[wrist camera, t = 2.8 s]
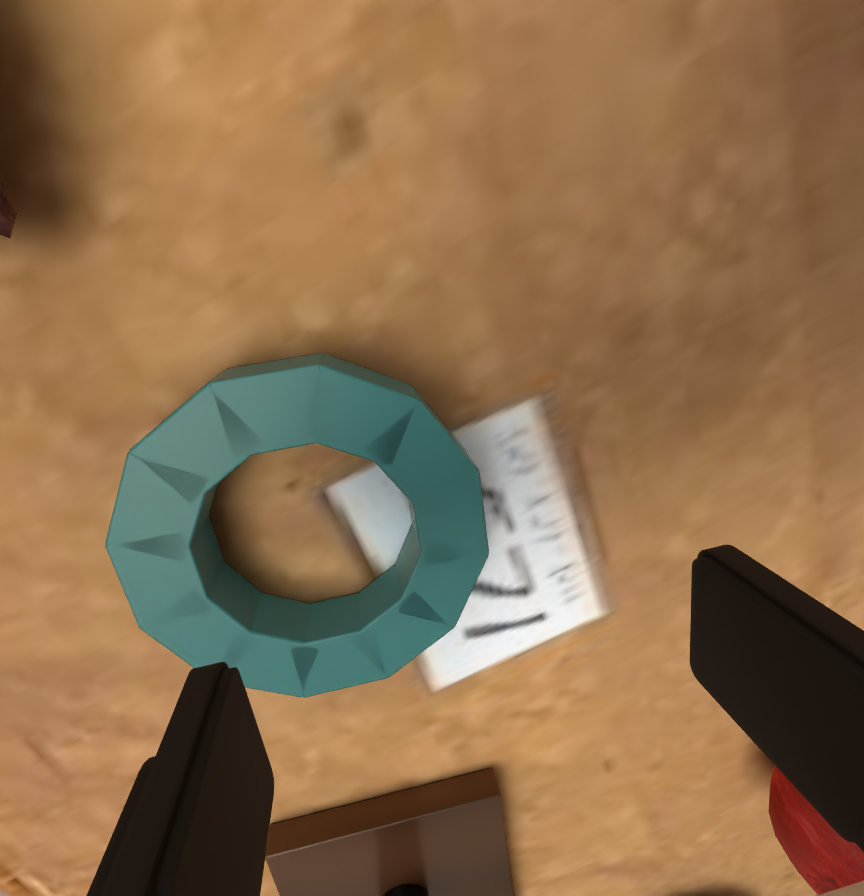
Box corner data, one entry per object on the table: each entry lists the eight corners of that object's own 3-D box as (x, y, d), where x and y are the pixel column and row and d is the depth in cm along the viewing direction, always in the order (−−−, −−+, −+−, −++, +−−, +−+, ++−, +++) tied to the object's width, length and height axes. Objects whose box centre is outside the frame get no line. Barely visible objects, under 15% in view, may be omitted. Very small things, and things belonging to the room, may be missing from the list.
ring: (88, 391, 14) (46, 409, 12) (449, 331, 15) (464, 339, 13) (198, 678, 17) (180, 727, 15) (485, 613, 18) (501, 652, 16)
